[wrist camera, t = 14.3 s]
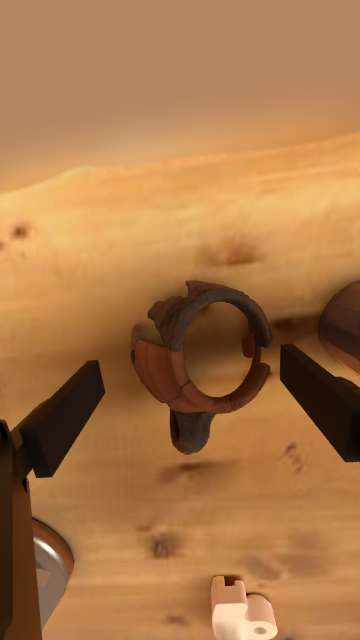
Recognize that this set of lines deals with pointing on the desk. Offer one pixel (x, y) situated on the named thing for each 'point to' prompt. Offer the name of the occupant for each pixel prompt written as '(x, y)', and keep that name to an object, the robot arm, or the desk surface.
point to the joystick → (240, 613)
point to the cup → (343, 328)
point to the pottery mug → (169, 369)
